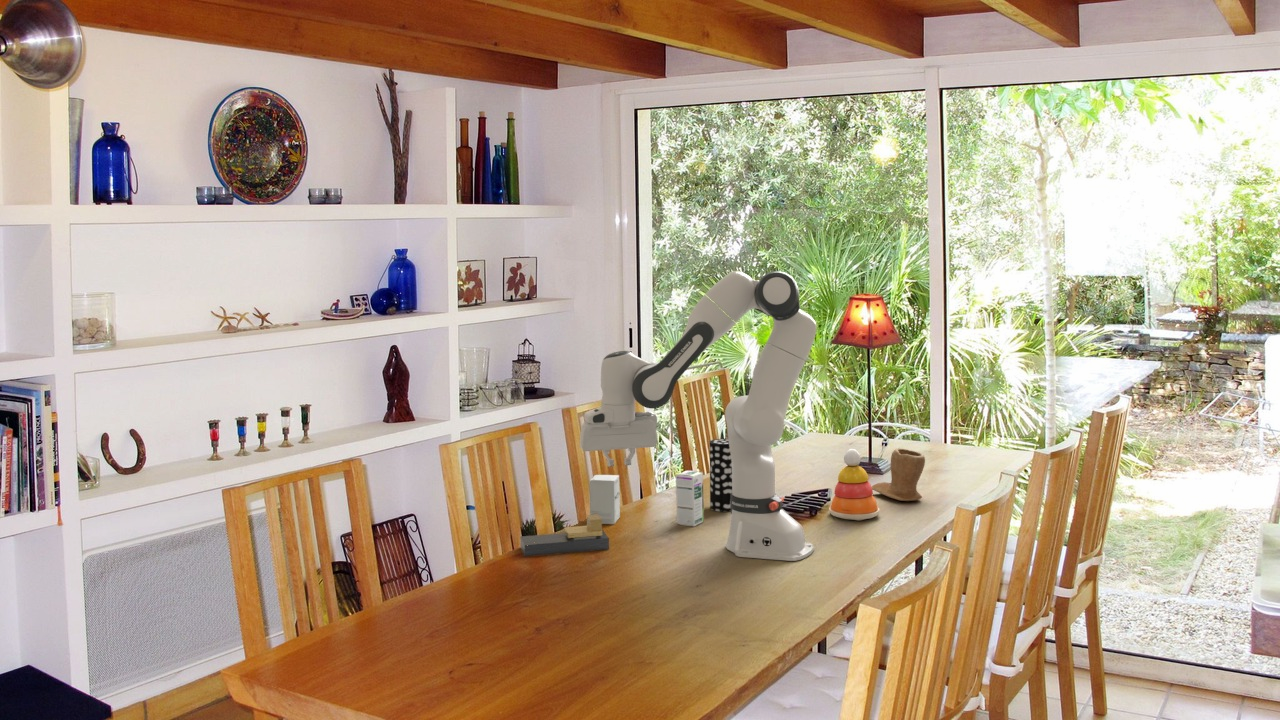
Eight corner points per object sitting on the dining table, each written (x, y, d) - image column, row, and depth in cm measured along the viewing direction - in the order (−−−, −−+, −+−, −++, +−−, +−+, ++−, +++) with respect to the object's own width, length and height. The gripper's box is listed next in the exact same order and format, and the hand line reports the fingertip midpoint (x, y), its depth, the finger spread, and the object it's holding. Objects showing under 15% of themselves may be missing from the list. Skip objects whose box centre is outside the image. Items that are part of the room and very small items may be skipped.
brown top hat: (932, 501, 330) (933, 452, 329) (898, 505, 326) (899, 455, 324) (902, 490, 344) (903, 443, 343) (870, 494, 340) (870, 446, 338)
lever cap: (597, 529, 293) (597, 513, 292) (602, 535, 287) (602, 519, 286) (564, 531, 291) (563, 516, 290) (568, 538, 285) (567, 522, 284)
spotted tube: (743, 506, 327) (743, 440, 325) (730, 513, 320) (729, 445, 318) (718, 503, 332) (718, 437, 329) (705, 509, 325) (704, 442, 322)
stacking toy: (888, 514, 316) (889, 448, 314) (864, 525, 306) (864, 456, 303) (844, 507, 326) (845, 442, 323) (819, 517, 315) (819, 450, 312)
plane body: (602, 540, 294) (602, 528, 294) (609, 549, 287) (608, 537, 286) (520, 547, 289) (520, 535, 289) (524, 556, 282) (524, 544, 281)
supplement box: (615, 524, 310) (614, 480, 308) (589, 523, 311) (588, 479, 310) (620, 517, 317) (619, 474, 316) (595, 516, 319) (594, 473, 317)
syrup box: (694, 527, 307) (694, 475, 305) (676, 524, 310) (675, 473, 308) (704, 522, 311) (703, 471, 309) (686, 519, 314) (685, 469, 313)
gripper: (654, 409, 293) (654, 460, 294) (578, 413, 288) (579, 465, 290) (660, 413, 286) (660, 465, 288) (582, 417, 282) (583, 470, 283)
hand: (619, 465), depth 289 cm, fingers open, 3 cm apart
